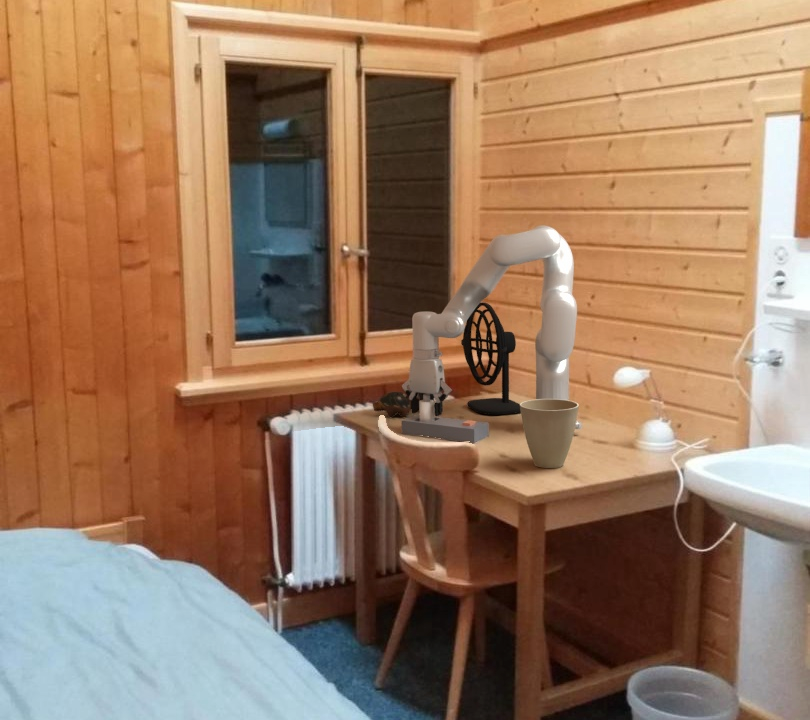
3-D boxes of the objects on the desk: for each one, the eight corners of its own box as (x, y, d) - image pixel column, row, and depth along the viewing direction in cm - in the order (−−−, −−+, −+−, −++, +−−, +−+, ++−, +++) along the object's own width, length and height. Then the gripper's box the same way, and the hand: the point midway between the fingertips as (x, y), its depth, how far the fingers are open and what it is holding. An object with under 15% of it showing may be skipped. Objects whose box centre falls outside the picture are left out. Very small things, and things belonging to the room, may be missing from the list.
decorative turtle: (420, 419, 306) (418, 394, 304) (372, 422, 307) (370, 397, 305) (421, 410, 315) (419, 386, 314) (375, 414, 317) (372, 390, 315)
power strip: (488, 436, 283) (488, 420, 282) (474, 443, 275) (474, 426, 274) (417, 427, 295) (417, 411, 294) (401, 433, 287) (401, 417, 287)
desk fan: (452, 403, 328) (451, 299, 322) (500, 399, 333) (500, 296, 327) (482, 420, 302) (481, 307, 296) (534, 415, 307) (534, 305, 302)
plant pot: (589, 463, 253) (590, 403, 250) (556, 476, 242) (556, 413, 239) (541, 453, 263) (542, 395, 260) (508, 465, 252) (508, 405, 249)
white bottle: (437, 430, 289) (436, 393, 287) (430, 433, 285) (429, 396, 283) (424, 428, 291) (423, 392, 289) (417, 431, 287) (416, 395, 285)
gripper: (458, 354, 283) (458, 414, 286) (407, 350, 292) (408, 408, 295) (445, 358, 276) (446, 419, 279) (393, 354, 285) (394, 413, 288)
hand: (426, 413), depth 287 cm, fingers open, 7 cm apart
